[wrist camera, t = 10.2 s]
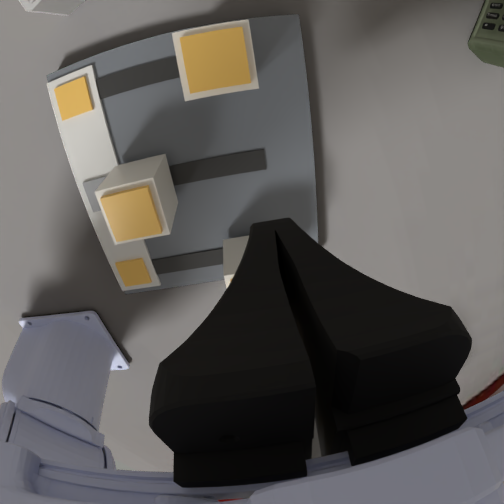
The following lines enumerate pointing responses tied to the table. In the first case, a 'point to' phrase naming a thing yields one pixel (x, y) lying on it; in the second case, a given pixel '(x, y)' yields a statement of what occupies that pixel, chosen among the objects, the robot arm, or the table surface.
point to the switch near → (215, 59)
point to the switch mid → (138, 200)
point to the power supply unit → (51, 6)
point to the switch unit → (192, 148)
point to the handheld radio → (489, 34)
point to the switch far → (233, 256)
